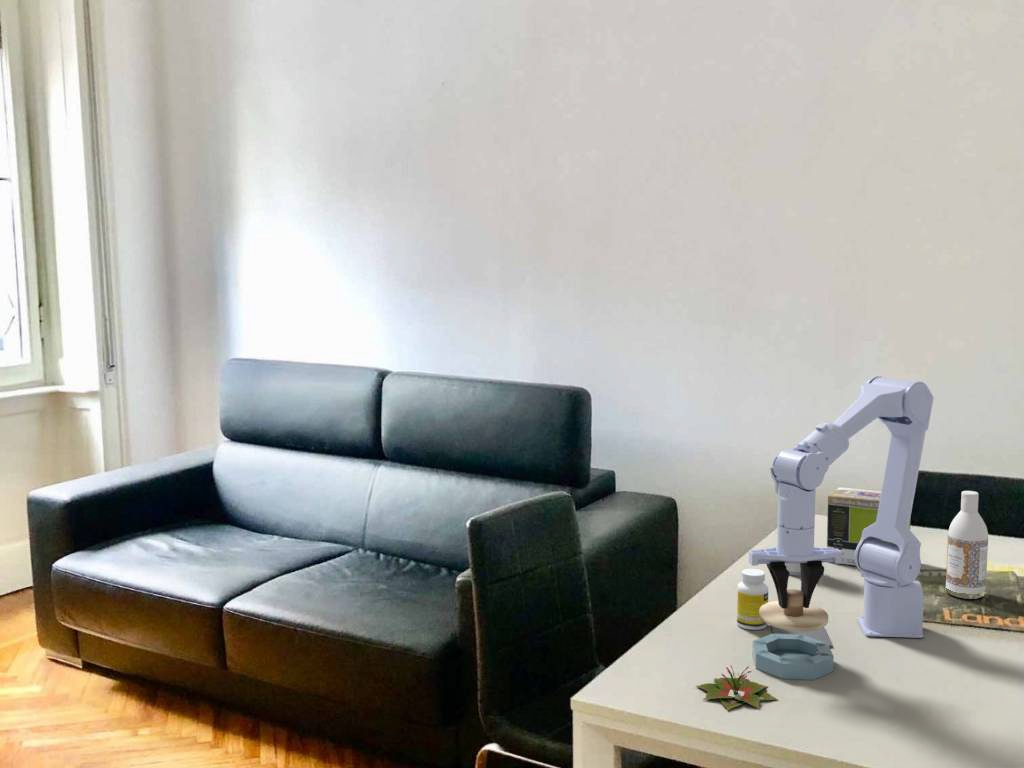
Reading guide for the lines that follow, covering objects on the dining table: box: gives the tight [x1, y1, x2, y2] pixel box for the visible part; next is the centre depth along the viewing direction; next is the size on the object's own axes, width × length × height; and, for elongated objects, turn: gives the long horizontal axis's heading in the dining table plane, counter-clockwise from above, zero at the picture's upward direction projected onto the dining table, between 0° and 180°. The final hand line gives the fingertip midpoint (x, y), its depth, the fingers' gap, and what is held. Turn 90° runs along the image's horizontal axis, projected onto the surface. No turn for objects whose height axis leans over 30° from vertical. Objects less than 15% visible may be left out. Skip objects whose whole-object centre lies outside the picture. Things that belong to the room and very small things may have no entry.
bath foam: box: [945, 490, 989, 594], centre depth 191 cm, size 7×7×20 cm
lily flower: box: [696, 665, 779, 711], centre depth 152 cm, size 12×12×5 cm
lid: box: [759, 588, 829, 631], centre depth 163 cm, size 11×11×4 cm
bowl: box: [752, 633, 835, 681], centre depth 163 cm, size 12×12×2 cm
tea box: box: [826, 486, 911, 567], centre depth 212 cm, size 15×10×15 cm, turn 58°
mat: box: [770, 625, 833, 649], centre depth 174 cm, size 9×9×1 cm
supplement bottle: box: [736, 568, 769, 631], centre depth 179 cm, size 5×5×10 cm
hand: (793, 606), depth 163 cm, fingers closed on lid, 3 cm apart
